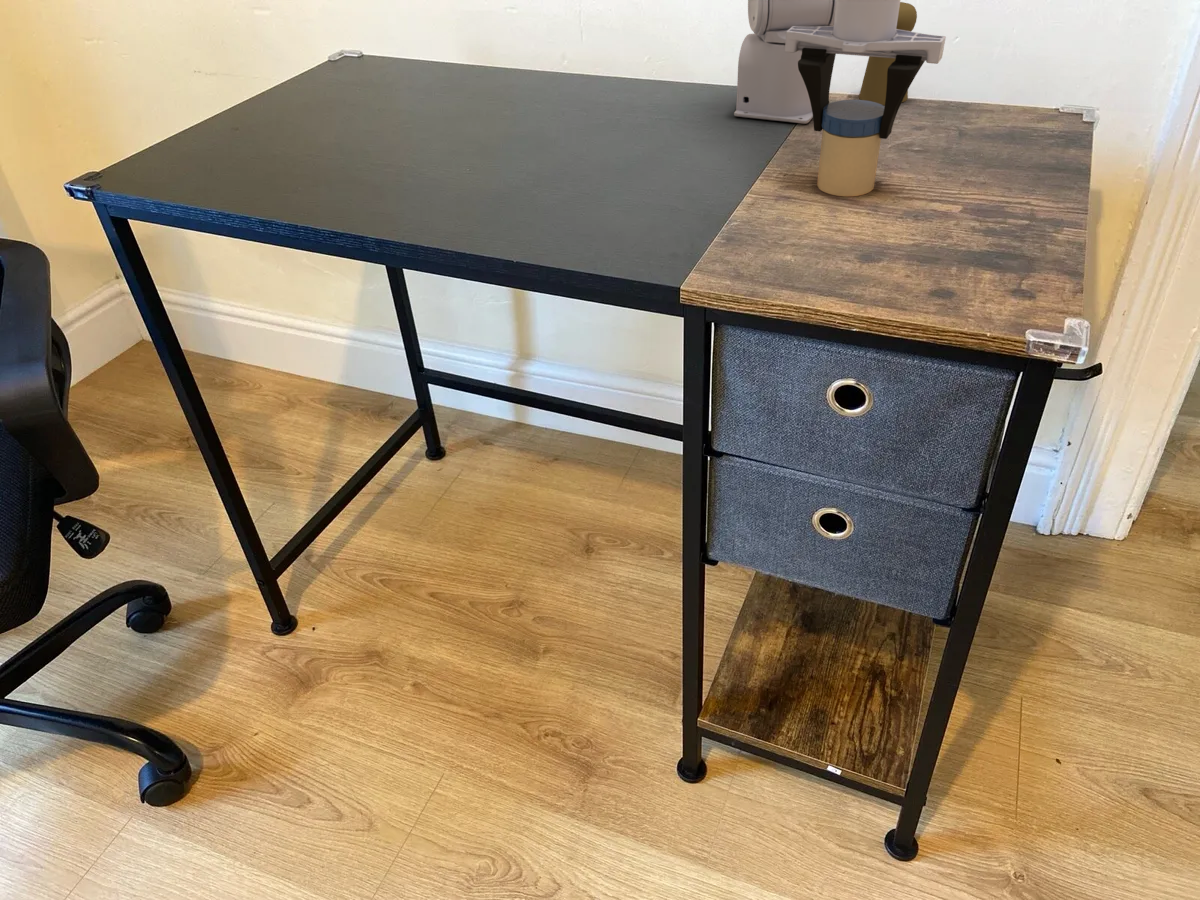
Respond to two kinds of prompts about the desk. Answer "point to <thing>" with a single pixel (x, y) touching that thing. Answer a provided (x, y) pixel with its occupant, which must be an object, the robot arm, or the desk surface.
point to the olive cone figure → (885, 61)
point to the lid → (852, 117)
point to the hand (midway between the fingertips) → (851, 131)
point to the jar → (848, 164)
